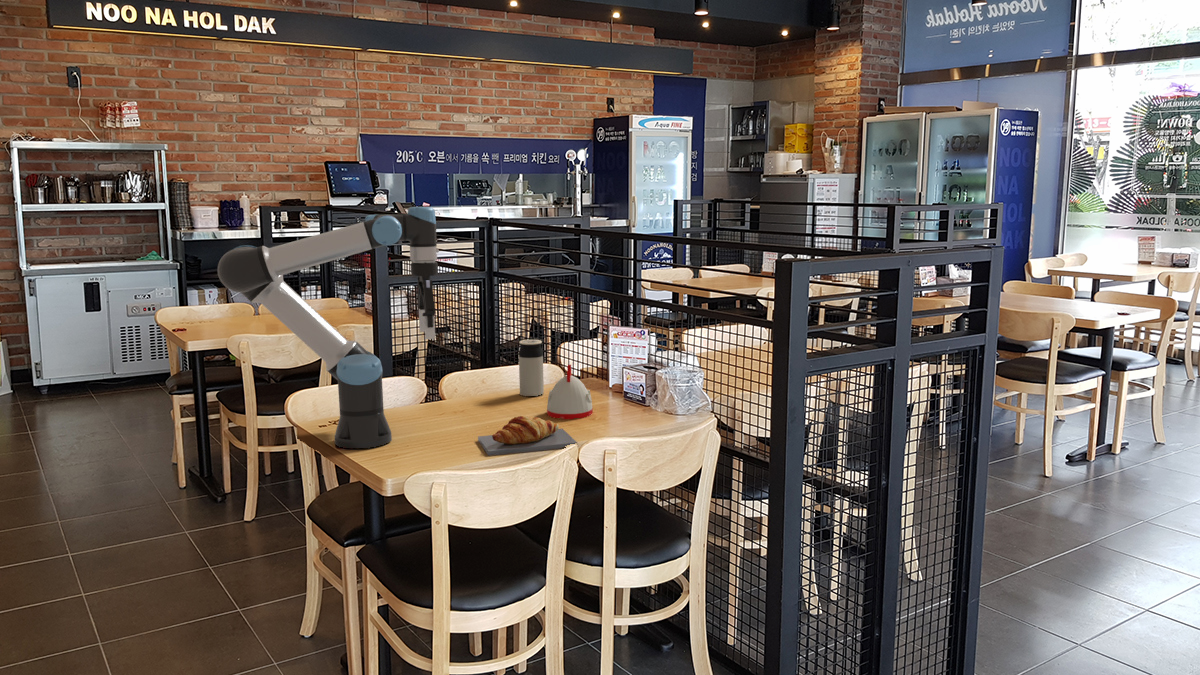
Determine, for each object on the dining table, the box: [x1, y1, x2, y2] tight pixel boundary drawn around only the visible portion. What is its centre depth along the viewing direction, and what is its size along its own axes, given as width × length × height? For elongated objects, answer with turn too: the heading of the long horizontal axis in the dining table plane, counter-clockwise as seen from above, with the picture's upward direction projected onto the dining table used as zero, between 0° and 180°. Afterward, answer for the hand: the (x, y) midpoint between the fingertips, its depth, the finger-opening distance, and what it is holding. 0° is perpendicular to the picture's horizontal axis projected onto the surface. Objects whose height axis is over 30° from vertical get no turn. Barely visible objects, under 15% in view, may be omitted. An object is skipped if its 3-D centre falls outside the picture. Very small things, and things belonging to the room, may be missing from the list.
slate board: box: [477, 428, 578, 457], centre depth 247 cm, size 24×15×2 cm, turn 108°
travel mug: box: [518, 339, 545, 397], centre depth 304 cm, size 8×8×18 cm
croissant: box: [491, 415, 560, 444], centre depth 247 cm, size 21×10×8 cm, turn 130°
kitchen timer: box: [546, 364, 594, 420], centre depth 278 cm, size 14×14×15 cm
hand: (427, 335), depth 263 cm, fingers open, 13 cm apart
